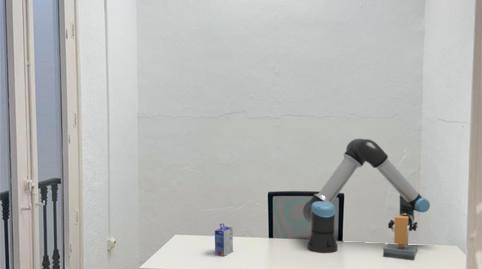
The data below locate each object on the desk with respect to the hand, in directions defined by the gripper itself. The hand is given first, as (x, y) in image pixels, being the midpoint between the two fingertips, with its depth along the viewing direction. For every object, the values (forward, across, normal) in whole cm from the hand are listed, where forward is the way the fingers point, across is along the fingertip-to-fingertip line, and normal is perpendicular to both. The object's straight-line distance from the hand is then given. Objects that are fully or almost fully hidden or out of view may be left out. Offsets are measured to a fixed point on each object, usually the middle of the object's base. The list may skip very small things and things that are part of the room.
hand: (400, 229), depth 227 cm
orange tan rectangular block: (-5, 0, -8) cm, 9 cm away
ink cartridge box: (+38, +78, -12) cm, 88 cm away
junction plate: (-3, 0, -12) cm, 13 cm away
